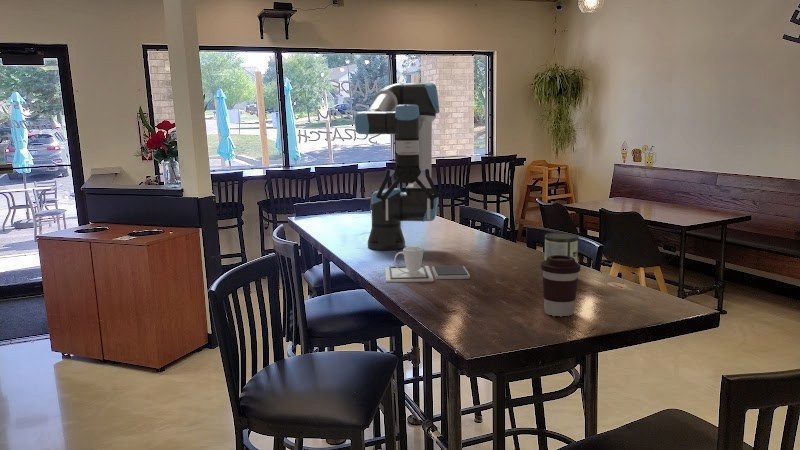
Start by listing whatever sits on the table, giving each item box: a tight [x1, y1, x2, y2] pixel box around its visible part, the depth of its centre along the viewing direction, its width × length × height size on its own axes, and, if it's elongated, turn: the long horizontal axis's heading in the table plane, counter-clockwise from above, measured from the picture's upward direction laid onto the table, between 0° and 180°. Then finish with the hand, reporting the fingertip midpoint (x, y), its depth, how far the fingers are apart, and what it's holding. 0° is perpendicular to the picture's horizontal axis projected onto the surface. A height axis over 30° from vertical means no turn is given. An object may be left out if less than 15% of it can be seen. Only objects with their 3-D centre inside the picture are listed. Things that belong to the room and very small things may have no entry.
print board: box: [384, 265, 434, 283], centre depth 199 cm, size 18×15×1 cm
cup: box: [393, 246, 425, 274], centre depth 198 cm, size 7×10×8 cm
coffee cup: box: [540, 255, 581, 318], centre depth 157 cm, size 10×10×15 cm
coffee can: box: [543, 232, 579, 263], centre depth 191 cm, size 10×10×14 cm
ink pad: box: [431, 264, 471, 280], centre depth 199 cm, size 13×11×1 cm
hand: (407, 219), depth 196 cm, fingers open, 13 cm apart
